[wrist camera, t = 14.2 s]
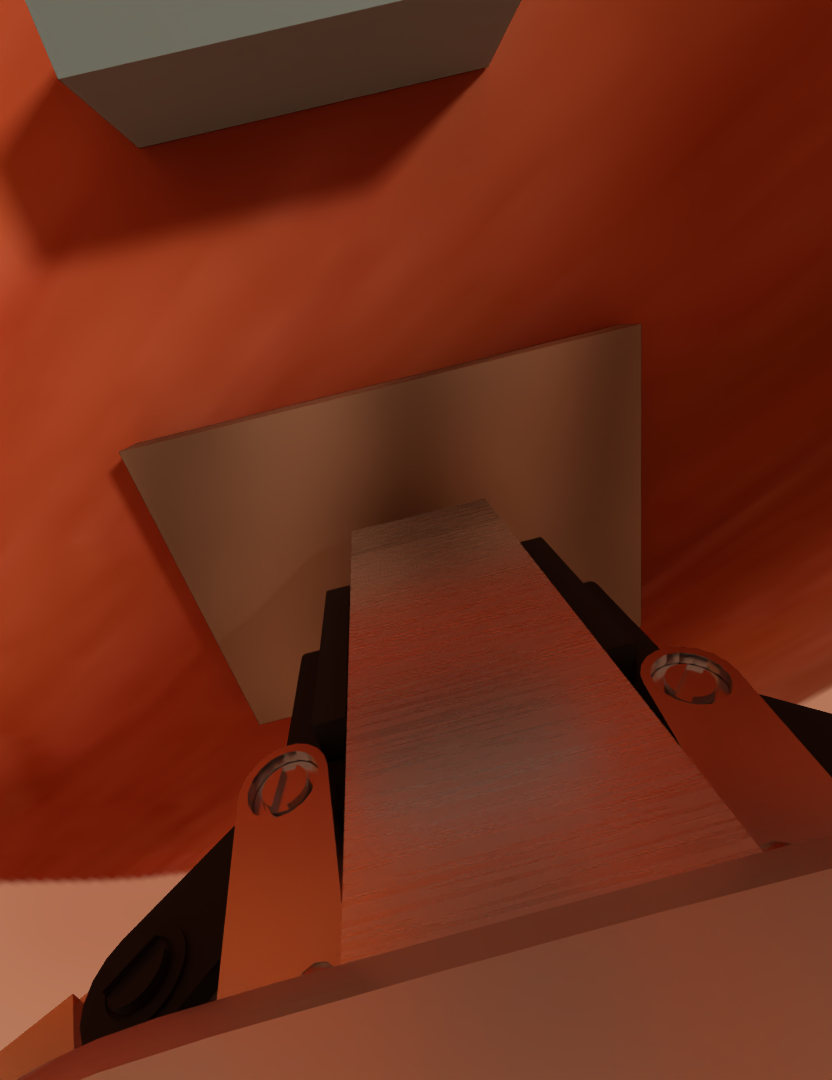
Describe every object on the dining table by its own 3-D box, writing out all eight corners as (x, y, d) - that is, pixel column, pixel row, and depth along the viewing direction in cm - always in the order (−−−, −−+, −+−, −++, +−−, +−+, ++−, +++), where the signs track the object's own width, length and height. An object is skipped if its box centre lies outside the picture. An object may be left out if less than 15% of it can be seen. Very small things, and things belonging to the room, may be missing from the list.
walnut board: (621, 324, 13) (641, 324, 12) (625, 610, 17) (640, 626, 16) (136, 443, 13) (118, 452, 12) (264, 703, 17) (259, 724, 16)
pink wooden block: (484, 497, 12) (889, 1011, 3) (512, 670, 14) (772, 1231, 5) (351, 531, 12) (334, 1166, 3) (403, 698, 14) (482, 1312, 5)
